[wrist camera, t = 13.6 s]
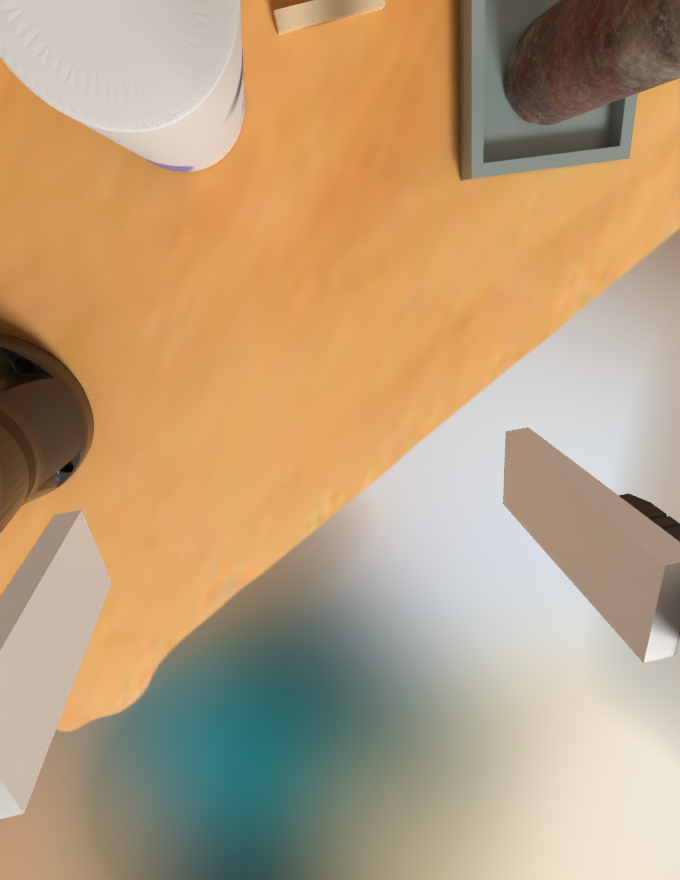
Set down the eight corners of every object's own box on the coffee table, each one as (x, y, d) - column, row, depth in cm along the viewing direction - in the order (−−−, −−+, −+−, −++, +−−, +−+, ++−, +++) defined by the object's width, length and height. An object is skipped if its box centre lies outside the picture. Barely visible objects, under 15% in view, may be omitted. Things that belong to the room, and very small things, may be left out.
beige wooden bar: (277, 36, 36) (278, 31, 35) (273, 16, 35) (273, 10, 34) (381, 10, 36) (385, 4, 35) (378, -10, 36) (382, -17, 34)
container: (271, 116, 37) (291, 23, 19) (173, 200, 39) (106, 185, 21) (179, -28, 33) (95, -318, 15) (71, 71, 34) (-125, -89, 16)
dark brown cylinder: (535, -12, 36) (814, -236, 18) (608, 41, 38) (920, -112, 21) (486, 100, 39) (689, -2, 21) (556, 143, 41) (795, 86, 23)
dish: (460, 180, 41) (471, 178, 39) (459, -36, 35) (471, -51, 33) (612, 161, 43) (629, 158, 41) (635, -50, 37) (657, -65, 35)
